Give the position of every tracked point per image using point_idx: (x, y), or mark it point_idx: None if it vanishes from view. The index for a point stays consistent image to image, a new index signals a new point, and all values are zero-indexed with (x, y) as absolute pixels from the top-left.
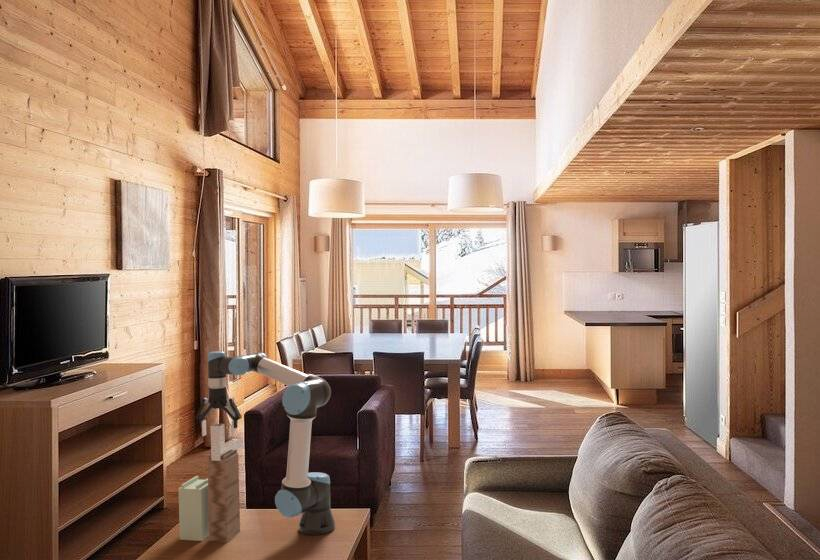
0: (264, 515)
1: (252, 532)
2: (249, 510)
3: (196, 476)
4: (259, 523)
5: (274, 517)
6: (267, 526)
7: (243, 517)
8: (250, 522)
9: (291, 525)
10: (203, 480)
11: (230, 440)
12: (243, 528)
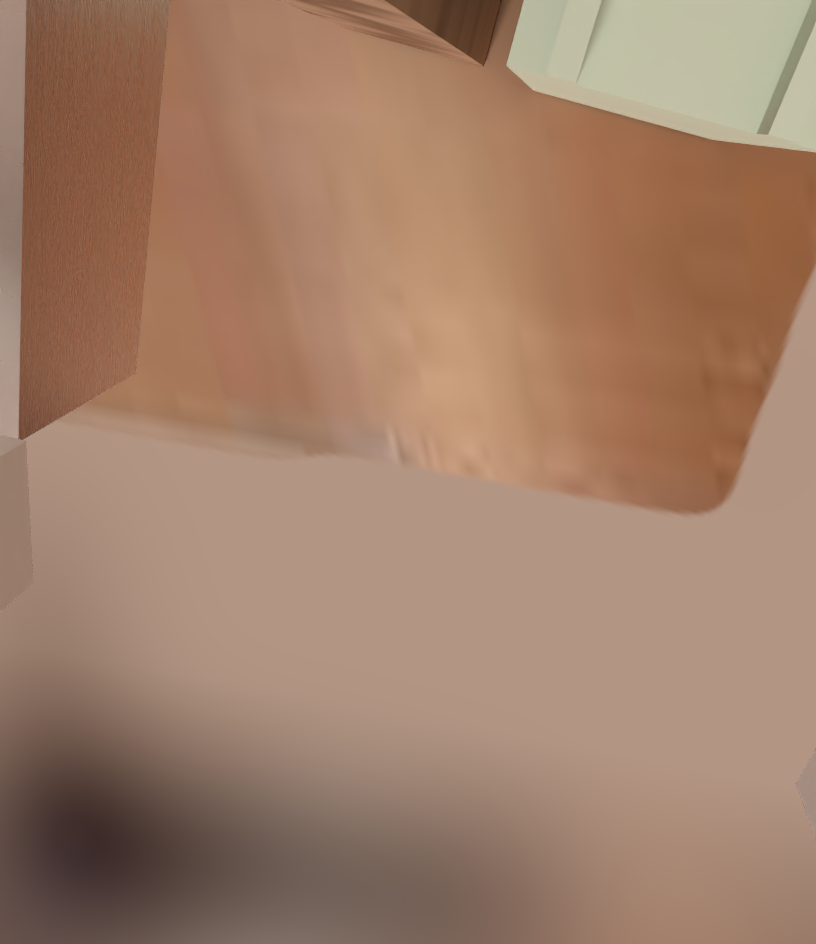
0: (256, 339)
1: (255, 10)
2: (375, 445)
3: (798, 104)
4: (251, 192)
5: (182, 293)
6: (182, 125)
7: (387, 324)
8: (317, 220)
9: None
10: (677, 70)
11: (6, 200)
12: (339, 103)
